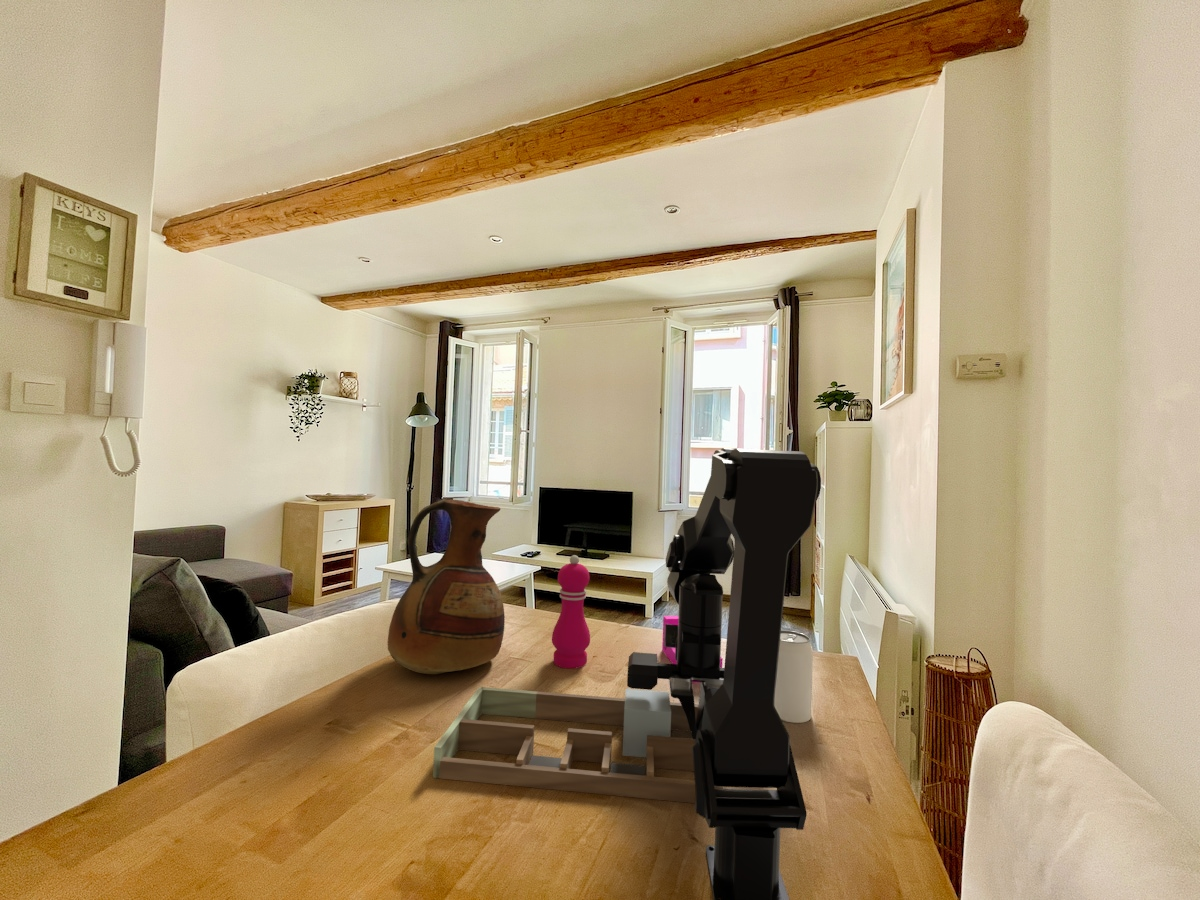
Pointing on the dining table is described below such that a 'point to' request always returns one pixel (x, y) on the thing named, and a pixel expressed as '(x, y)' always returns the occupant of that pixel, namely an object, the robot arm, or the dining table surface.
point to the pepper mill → (571, 617)
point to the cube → (644, 719)
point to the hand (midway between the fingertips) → (695, 739)
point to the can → (794, 677)
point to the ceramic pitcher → (449, 599)
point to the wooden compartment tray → (578, 747)
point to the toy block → (668, 650)
